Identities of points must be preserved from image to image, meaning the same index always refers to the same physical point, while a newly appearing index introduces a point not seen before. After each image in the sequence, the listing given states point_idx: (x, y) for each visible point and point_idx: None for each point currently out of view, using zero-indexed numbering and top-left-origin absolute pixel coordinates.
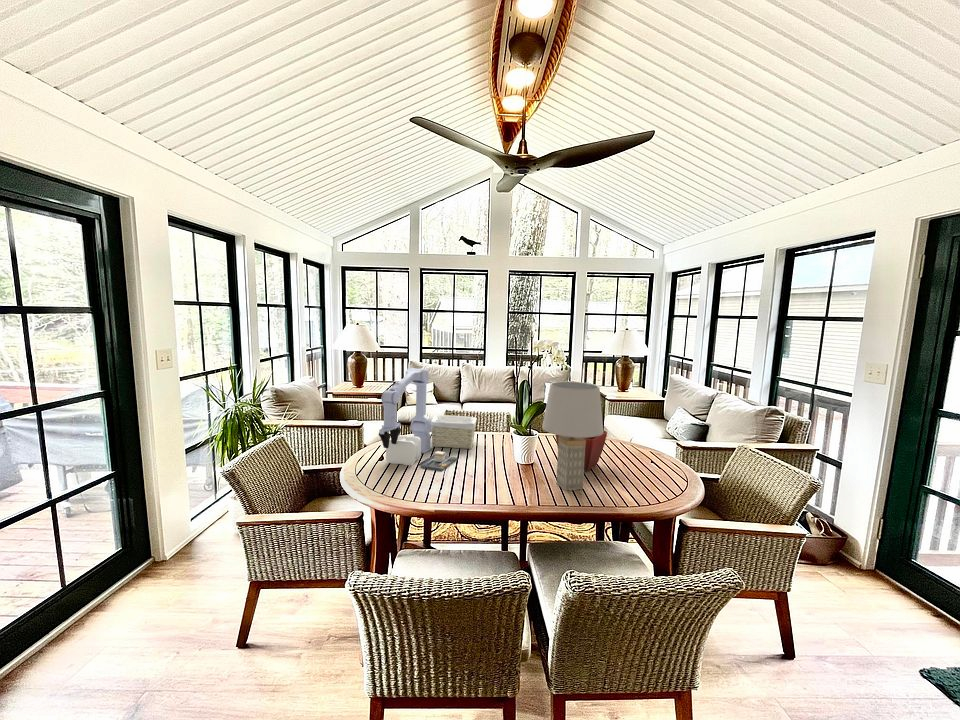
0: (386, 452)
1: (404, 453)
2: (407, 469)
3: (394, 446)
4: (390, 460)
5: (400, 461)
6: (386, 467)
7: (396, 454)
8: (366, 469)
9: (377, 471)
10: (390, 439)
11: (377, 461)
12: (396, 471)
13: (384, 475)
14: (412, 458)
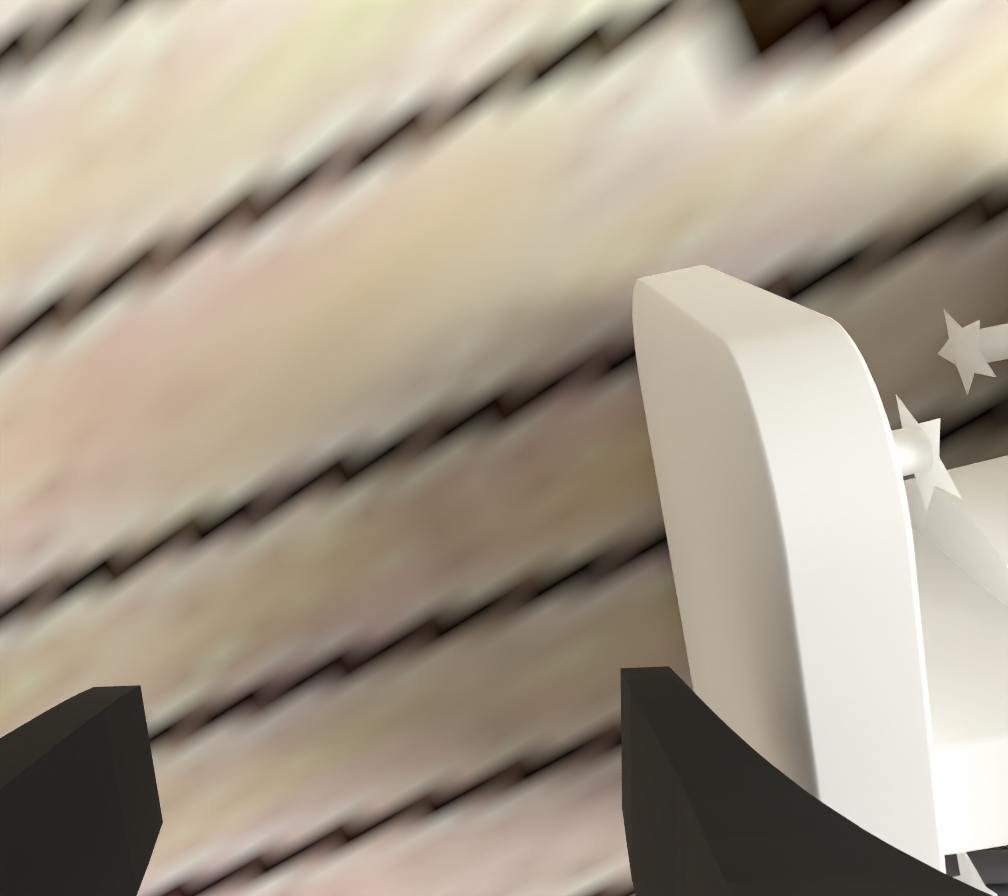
0: (657, 318)
1: None
2: (528, 792)
3: (727, 632)
4: (643, 392)
5: (680, 608)
6: (430, 419)
7: (690, 588)
8: (124, 125)
9: (163, 396)
10: (881, 507)
11: (653, 13)
12: (350, 689)
13: (81, 621)
14: None
